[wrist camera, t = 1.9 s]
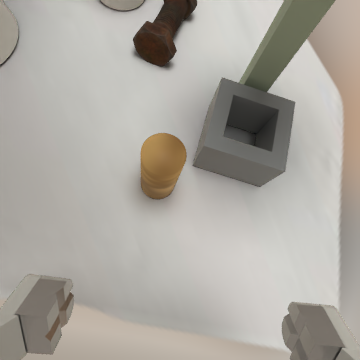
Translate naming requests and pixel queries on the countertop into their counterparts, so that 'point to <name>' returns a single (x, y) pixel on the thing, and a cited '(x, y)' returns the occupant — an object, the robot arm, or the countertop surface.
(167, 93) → the countertop surface
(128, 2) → the milk bottle
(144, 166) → the peg
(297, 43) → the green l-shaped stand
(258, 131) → the socket
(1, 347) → the robot arm
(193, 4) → the bolt
